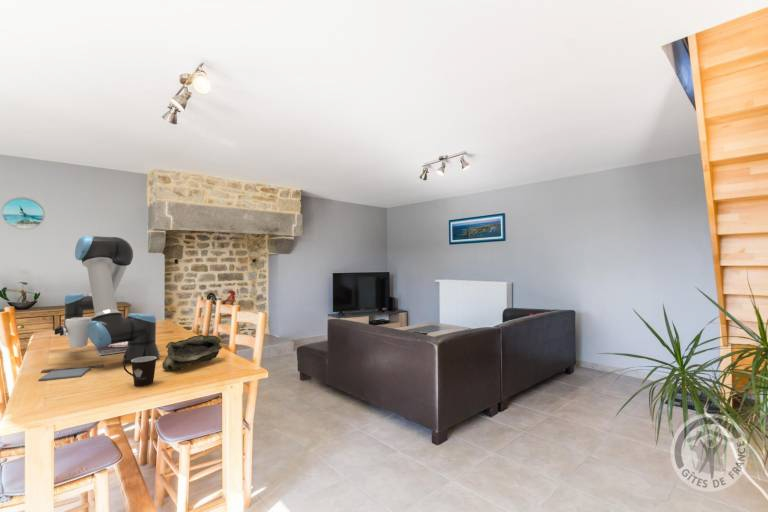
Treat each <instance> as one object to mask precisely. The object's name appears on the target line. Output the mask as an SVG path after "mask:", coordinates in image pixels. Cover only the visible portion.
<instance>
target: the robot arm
mask: <svg viewBox="0 0 768 512" xmlns="http://www.w3.org/2000/svg"><path fill="white" fill-rule="evenodd" d="M74 249H75V250H74V256H75V257H74V258H75V260H77V261H81V262H82V263H81V265H82V266H83V267H85V268H87V274H88V275H87V276H88V281H89V288H90V293H91V296H90V295H88V296H85V295H84V293H83V292H82V293H78V292H77V293H68V294H66V295H65V297H64V302H63V303H64V320H63V325H64V326H62V325H58V326H57V327H55V328H54V335H55V336H56V335H59V336H60V337H61V336H63V337H66V336H67V328H66V325H65V320H66V319H71V318H81V317H84V312H85V311H94V312H93V313H94V315H93V316H92V317H91V322H90V323H89V324H88V327H87V328H88V330H87V332H88V336H89V338H88V340H89V341H90V342H91V344H93V345H94V346H98V347H102V346H110V345H113V344H114V345H115V344H120V343H125V342H127V346H126V349H125V352H124V355H123V357H122V363H123V364H125V363H127V362H131V360H132V359H135V358H139V357H146V356H154V357H157V359H156V361H157V360H159V359H160V357H161V356H160V355H161V354H160V350H159V349H158V346H157V344H156V340H157V339H156V338H157V336H156V335H157V334H156V333H157V332H156V330H157V326H156V325H157V321H156V315H155V314H152V313H142V312H141V313H139V312H138V313H137V312H136V313H133V312H132V313H128V314H127V316H125V317H123V312H122V311H119V310H118V305H117V297H116V295H115V294H116V292H117V290H118V288H119V285H120V283H121V281H122V278H123V276H124V274H125V271H126V270H127V267H128V266H130V264H131V263H132V261H133V259H134V250H133V248H132V246H131V244H130V243H129V242H128V241H127V240H125V239H124V238H122V237H117V236H96V235H83V236H81V237H80V238H78V240H77V242H76V245H75V248H74ZM127 365H130V364H129V363H128V364H127Z"/></svg>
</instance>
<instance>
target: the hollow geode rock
mask: <svg viewBox="0 0 768 512" xmlns="http://www.w3.org/2000/svg"><path fill="white" fill-rule="evenodd" d="M221 342H222V340H221V339H220V338H219V337H218V336H216V335H202V334H199V335H193V336H191V337H188V338H187V339H182V340H178V341H175V342H174V341H170V342H168V343H167V345H166V346H165V348H166V349H167V350H166V352H167V356H166V358H165V359H164V361H162V364H161V366H162V369H163V370H164V371H167V372H168V371H169V372H170V371H171V372H172V371H181V370H182V369H183V368H185V367H187V366H188V365H189V366H190V365H191V366H192V365H193V366H194V365H199V364H200V363H204V362H210V361H212V360H213V359H215V358H217V356H218V355H219V353H220V350H222V348H223V346H221Z"/></svg>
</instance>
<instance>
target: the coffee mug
mask: <svg viewBox="0 0 768 512" xmlns="http://www.w3.org/2000/svg"><path fill="white" fill-rule="evenodd" d="M156 359H157V357H154V356H146V357H139V358H135V359H132V360H131V362H127V363H123V370H124V371H125V372H126V373H127V374H129V376H132V377H133V385H134V387H138V388H139V387H147V386H150V385H152V384H153V383H154V380H155V379H154V378H155V371H156V364H157V360H156ZM128 363H129V364H128ZM127 365H131V370H132V373H131V371H129V370H127V368H126V366H127Z"/></svg>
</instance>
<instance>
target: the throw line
mask: <svg viewBox="0 0 768 512" xmlns="http://www.w3.org/2000/svg"><path fill="white" fill-rule="evenodd" d="M90 367H91V369H98V368H103V367H104V363H102V364H93V365H92V364H89V365H82V366H78V365H77V366H70V367H60V368H59V367H58V368H47V369H42V370H40V374H48V373H49V372H51V371H58V370H68V369H79V368H90Z"/></svg>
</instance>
